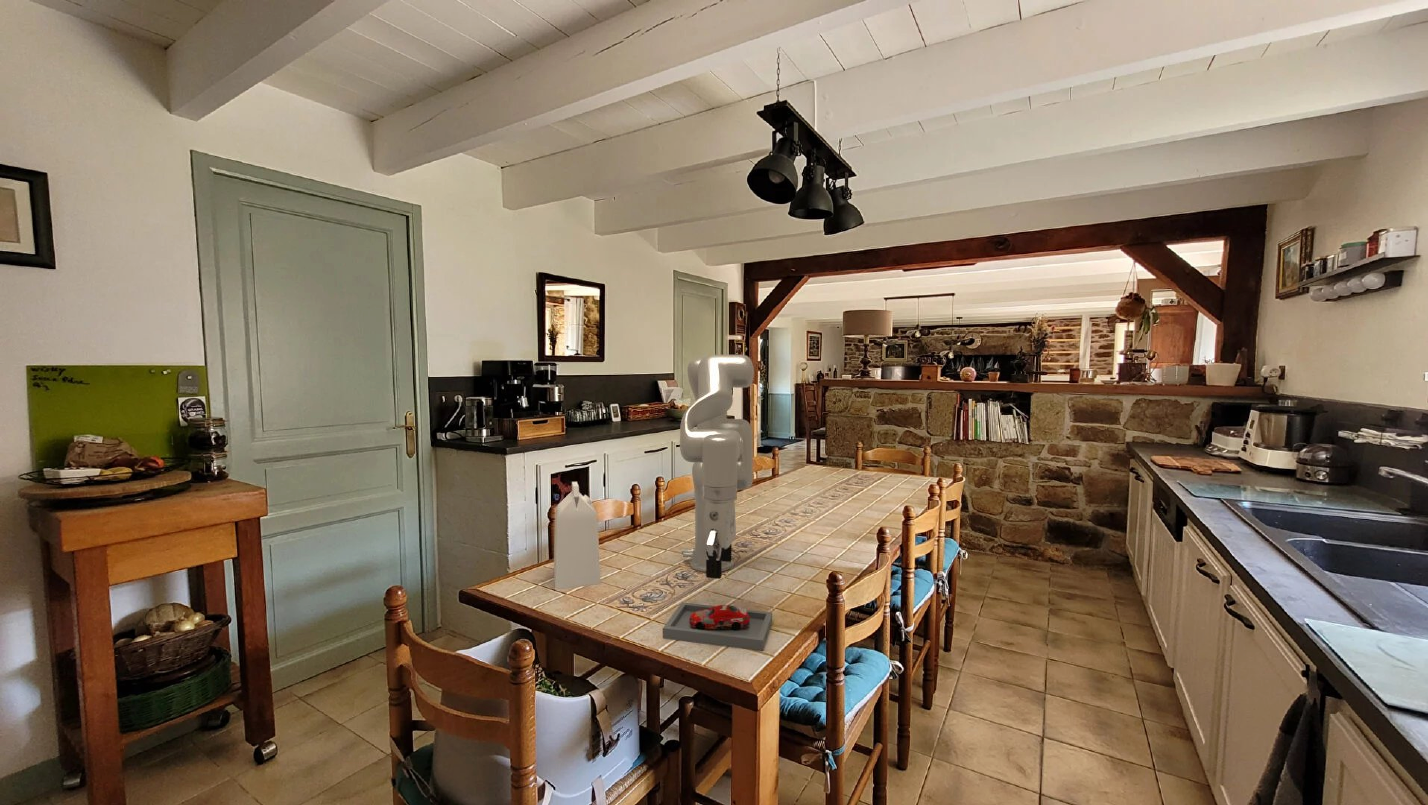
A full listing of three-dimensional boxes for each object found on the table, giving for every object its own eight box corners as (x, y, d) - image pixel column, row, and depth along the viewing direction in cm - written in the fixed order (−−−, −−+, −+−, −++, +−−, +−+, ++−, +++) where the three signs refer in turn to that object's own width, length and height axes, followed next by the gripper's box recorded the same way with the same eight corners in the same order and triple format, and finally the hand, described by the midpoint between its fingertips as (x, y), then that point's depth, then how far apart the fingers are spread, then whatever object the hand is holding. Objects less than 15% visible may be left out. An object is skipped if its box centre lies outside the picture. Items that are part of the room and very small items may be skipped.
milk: (553, 573, 154) (552, 480, 152) (595, 568, 158) (594, 478, 156) (555, 589, 143) (553, 490, 141) (600, 584, 146) (599, 487, 145)
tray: (662, 638, 117) (662, 628, 117) (681, 611, 130) (681, 602, 130) (762, 651, 112) (763, 640, 112) (772, 621, 125) (772, 612, 125)
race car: (688, 631, 118) (688, 613, 118) (689, 620, 124) (689, 602, 124) (750, 631, 118) (750, 613, 118) (748, 620, 124) (748, 602, 124)
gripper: (727, 503, 110) (727, 587, 111) (744, 484, 127) (743, 556, 128) (691, 501, 112) (691, 583, 113) (712, 482, 128) (712, 553, 130)
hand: (719, 569), depth 121 cm, fingers open, 9 cm apart
